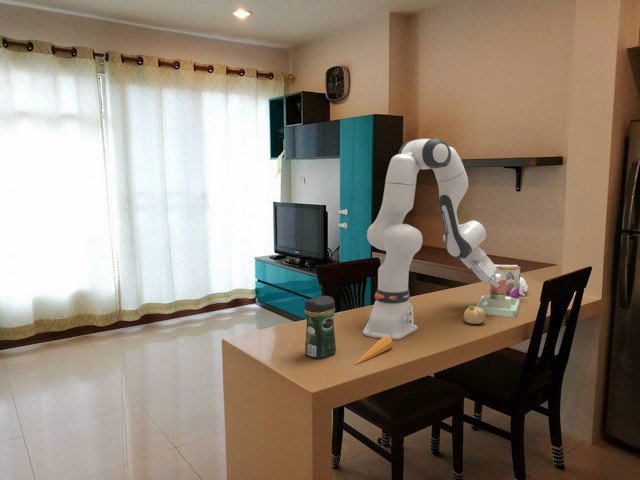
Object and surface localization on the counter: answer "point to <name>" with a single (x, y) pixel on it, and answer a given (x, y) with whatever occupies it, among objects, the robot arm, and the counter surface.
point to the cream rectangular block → (499, 302)
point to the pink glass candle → (499, 291)
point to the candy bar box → (511, 279)
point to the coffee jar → (320, 327)
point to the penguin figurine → (522, 287)
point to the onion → (474, 315)
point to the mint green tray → (499, 311)
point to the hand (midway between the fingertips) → (499, 284)
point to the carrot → (377, 349)
